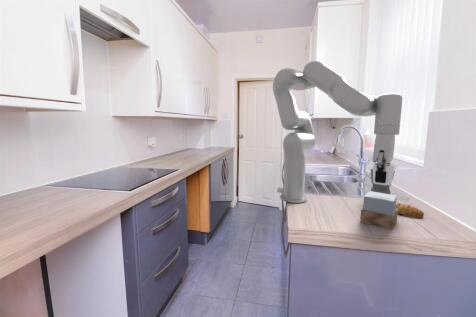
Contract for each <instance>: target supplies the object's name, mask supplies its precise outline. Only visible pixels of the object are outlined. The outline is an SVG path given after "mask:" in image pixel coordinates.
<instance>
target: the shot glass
mask: <svg viewBox="0 0 476 317" xmlns="http://www.w3.org/2000/svg"><path fill="white" fill-rule="evenodd" d="M376 166H377V162H375V163H374V162H373V163H372V169H373V183H375V184H379V185H391V186H392V184H393V180H394V176H393V174H394V175H395V173H394V171H395V169H396V168H395V167H396V165H395V164H392V163H390V164H388V163H387V165H386V171H385V172H387V173H386V183H378V182H375V173H376ZM392 179H393V180H392Z"/></svg>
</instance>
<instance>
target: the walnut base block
mask: <svg viewBox="0 0 476 317" xmlns="http://www.w3.org/2000/svg"><path fill="white" fill-rule="evenodd" d="M398 215H399V214H398V209H397V208H396V209H395V211H394V213H393V215H392V216H391V215H386V214H381V213H377V212H372V211H367V210H363V207H362V208H360V218H359V222H360V223H363V224H366V225H369V226H370V225H371V226H375V227H379V228H382V229H386V230H391V231H393V229H394V227H395V225H396V224H397V222H398Z"/></svg>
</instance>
